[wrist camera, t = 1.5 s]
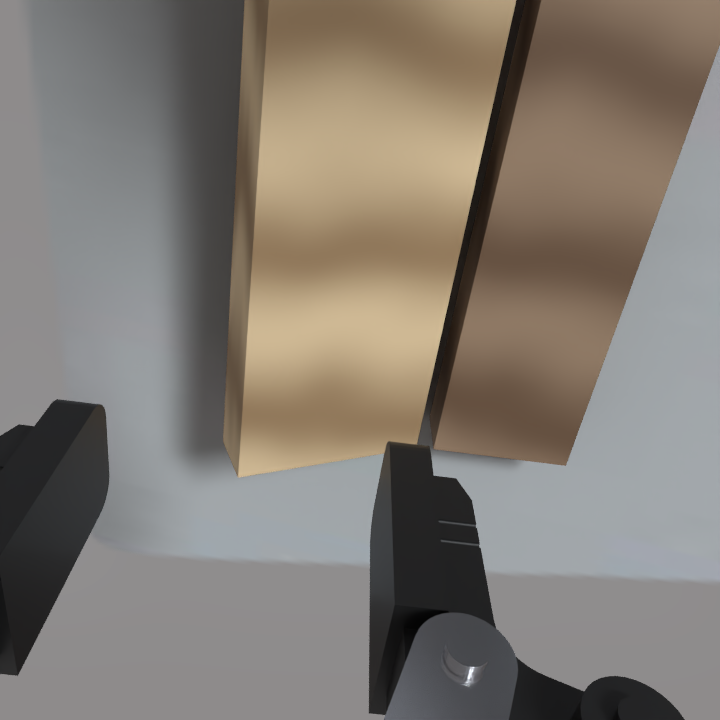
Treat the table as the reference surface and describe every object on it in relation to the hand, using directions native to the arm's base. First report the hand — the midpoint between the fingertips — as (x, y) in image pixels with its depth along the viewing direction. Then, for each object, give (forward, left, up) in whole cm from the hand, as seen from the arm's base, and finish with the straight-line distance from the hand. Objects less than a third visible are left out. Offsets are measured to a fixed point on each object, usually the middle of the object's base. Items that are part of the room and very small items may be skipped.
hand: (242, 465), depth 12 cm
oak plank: (0, +1, -15) cm, 15 cm away
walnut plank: (0, +10, -17) cm, 20 cm away
